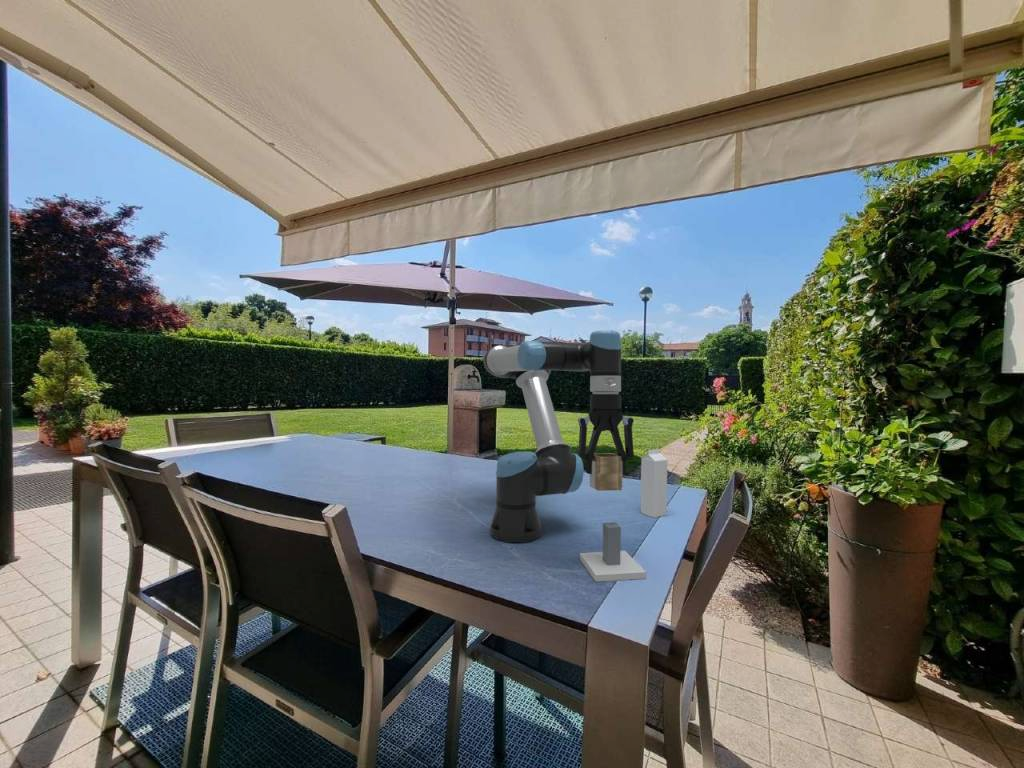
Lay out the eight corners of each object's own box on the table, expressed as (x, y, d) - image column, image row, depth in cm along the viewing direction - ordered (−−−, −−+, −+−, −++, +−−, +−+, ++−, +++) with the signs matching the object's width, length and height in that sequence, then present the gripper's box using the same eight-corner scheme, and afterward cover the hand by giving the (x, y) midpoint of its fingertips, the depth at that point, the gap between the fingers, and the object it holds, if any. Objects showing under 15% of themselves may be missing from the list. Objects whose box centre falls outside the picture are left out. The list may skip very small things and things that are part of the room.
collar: (597, 490, 100) (597, 457, 101) (590, 484, 106) (590, 453, 107) (621, 490, 101) (621, 457, 101) (613, 484, 107) (613, 453, 107)
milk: (666, 515, 141) (668, 450, 140) (654, 518, 138) (655, 451, 137) (652, 510, 146) (653, 447, 146) (640, 512, 143) (641, 448, 143)
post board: (595, 581, 94) (596, 535, 94) (579, 558, 106) (580, 517, 106) (646, 578, 96) (646, 533, 96) (624, 556, 108) (625, 515, 108)
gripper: (571, 393, 99) (571, 491, 99) (648, 393, 101) (649, 489, 101) (564, 393, 107) (564, 483, 107) (637, 393, 108) (637, 482, 108)
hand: (605, 486), depth 104 cm, fingers closed on collar, 6 cm apart
